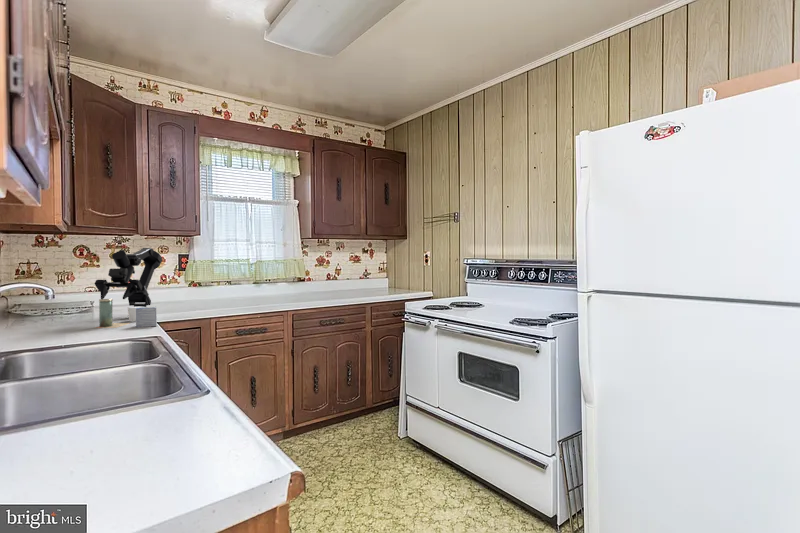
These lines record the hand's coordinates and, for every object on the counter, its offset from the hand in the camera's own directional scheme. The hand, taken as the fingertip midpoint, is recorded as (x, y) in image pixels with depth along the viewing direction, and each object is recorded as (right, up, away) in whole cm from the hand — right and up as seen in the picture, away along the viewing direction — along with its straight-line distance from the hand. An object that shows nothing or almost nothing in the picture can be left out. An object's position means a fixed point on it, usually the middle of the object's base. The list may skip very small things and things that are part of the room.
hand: (112, 298), depth 195 cm
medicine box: (+18, -12, -3) cm, 22 cm away
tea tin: (+1, -12, -5) cm, 13 cm away
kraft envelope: (+3, -12, -3) cm, 13 cm away
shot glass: (+3, -12, +12) cm, 17 cm away
